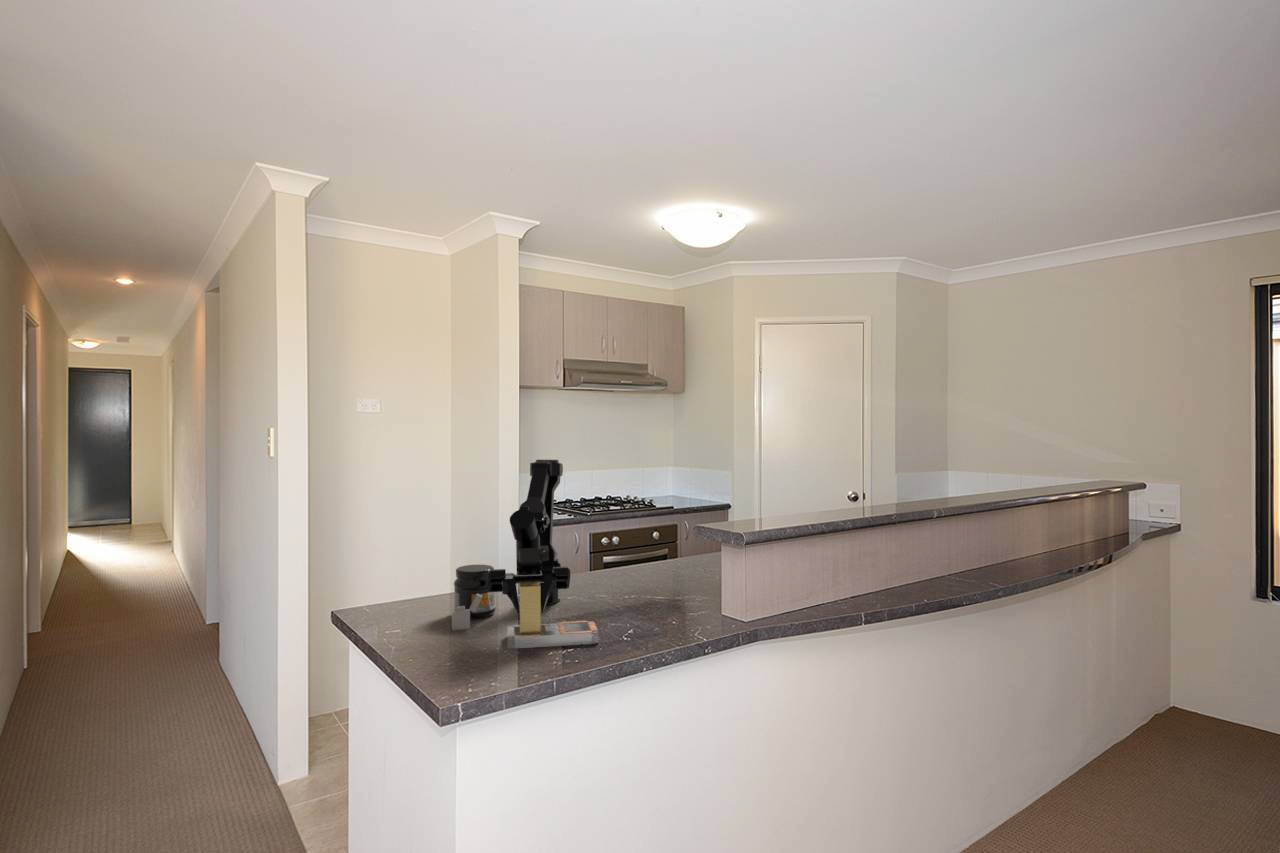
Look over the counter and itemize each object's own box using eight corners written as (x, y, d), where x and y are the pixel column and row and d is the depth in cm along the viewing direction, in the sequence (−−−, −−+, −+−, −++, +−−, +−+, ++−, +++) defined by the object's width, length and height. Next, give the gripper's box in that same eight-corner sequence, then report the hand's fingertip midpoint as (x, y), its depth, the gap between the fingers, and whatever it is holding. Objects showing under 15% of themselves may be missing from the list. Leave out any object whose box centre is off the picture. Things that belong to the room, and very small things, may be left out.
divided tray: (507, 648, 156) (507, 636, 156) (507, 636, 165) (507, 624, 165) (598, 643, 160) (598, 631, 160) (593, 631, 168) (593, 620, 168)
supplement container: (501, 616, 181) (501, 569, 181) (460, 622, 176) (460, 574, 176) (488, 607, 190) (488, 562, 190) (448, 612, 185) (448, 566, 185)
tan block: (520, 645, 158) (520, 586, 158) (519, 638, 163) (519, 582, 163) (540, 643, 159) (540, 586, 159) (539, 637, 164) (539, 581, 164)
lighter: (452, 630, 169) (452, 596, 169) (451, 628, 171) (451, 595, 171) (482, 627, 172) (482, 594, 172) (481, 625, 173) (481, 592, 173)
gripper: (488, 534, 163) (487, 594, 152) (569, 532, 166) (574, 590, 156) (488, 562, 171) (488, 621, 160) (566, 559, 174) (571, 616, 164)
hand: (530, 611), depth 160 cm, fingers open, 5 cm apart
